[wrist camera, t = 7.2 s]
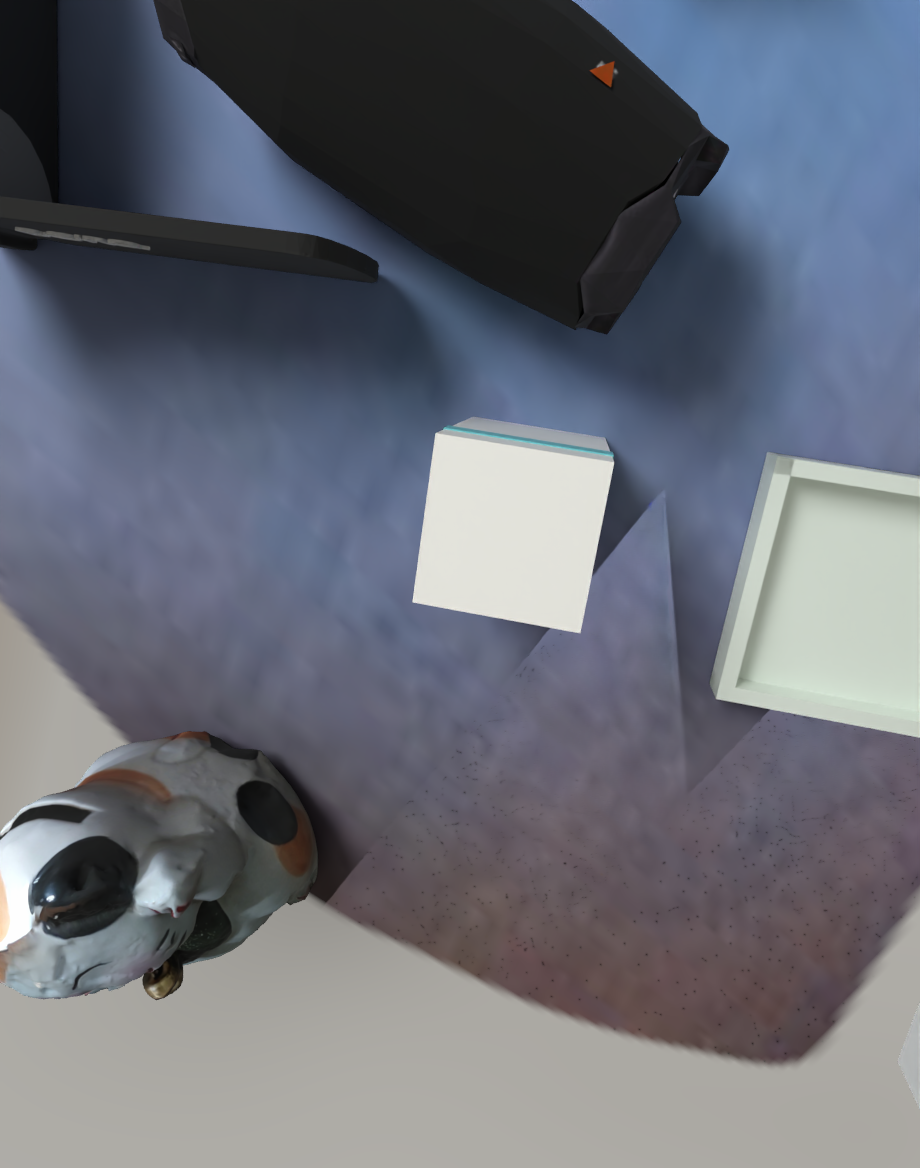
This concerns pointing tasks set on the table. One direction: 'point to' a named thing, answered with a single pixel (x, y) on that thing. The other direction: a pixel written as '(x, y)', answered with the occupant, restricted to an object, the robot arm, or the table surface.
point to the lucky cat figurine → (148, 867)
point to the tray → (827, 597)
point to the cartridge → (513, 522)
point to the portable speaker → (471, 132)
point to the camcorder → (31, 211)
